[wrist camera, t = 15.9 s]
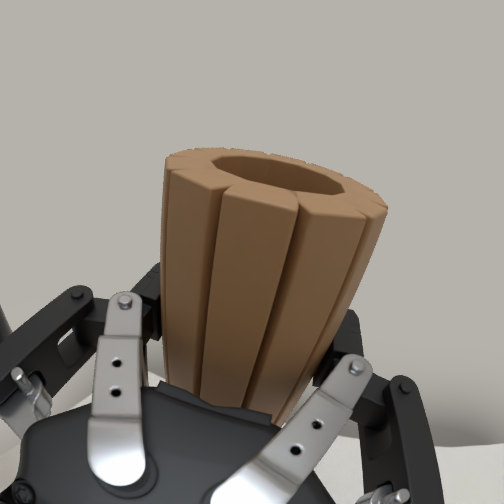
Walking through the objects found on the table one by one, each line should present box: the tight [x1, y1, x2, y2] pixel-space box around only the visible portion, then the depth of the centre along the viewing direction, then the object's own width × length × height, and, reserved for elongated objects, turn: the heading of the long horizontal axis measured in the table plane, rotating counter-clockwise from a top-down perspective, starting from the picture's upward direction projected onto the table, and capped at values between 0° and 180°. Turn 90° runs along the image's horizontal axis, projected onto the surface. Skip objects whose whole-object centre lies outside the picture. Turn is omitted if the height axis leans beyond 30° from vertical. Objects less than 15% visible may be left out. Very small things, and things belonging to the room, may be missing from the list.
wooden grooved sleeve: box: [160, 148, 388, 428], centre depth 11 cm, size 6×6×12 cm
